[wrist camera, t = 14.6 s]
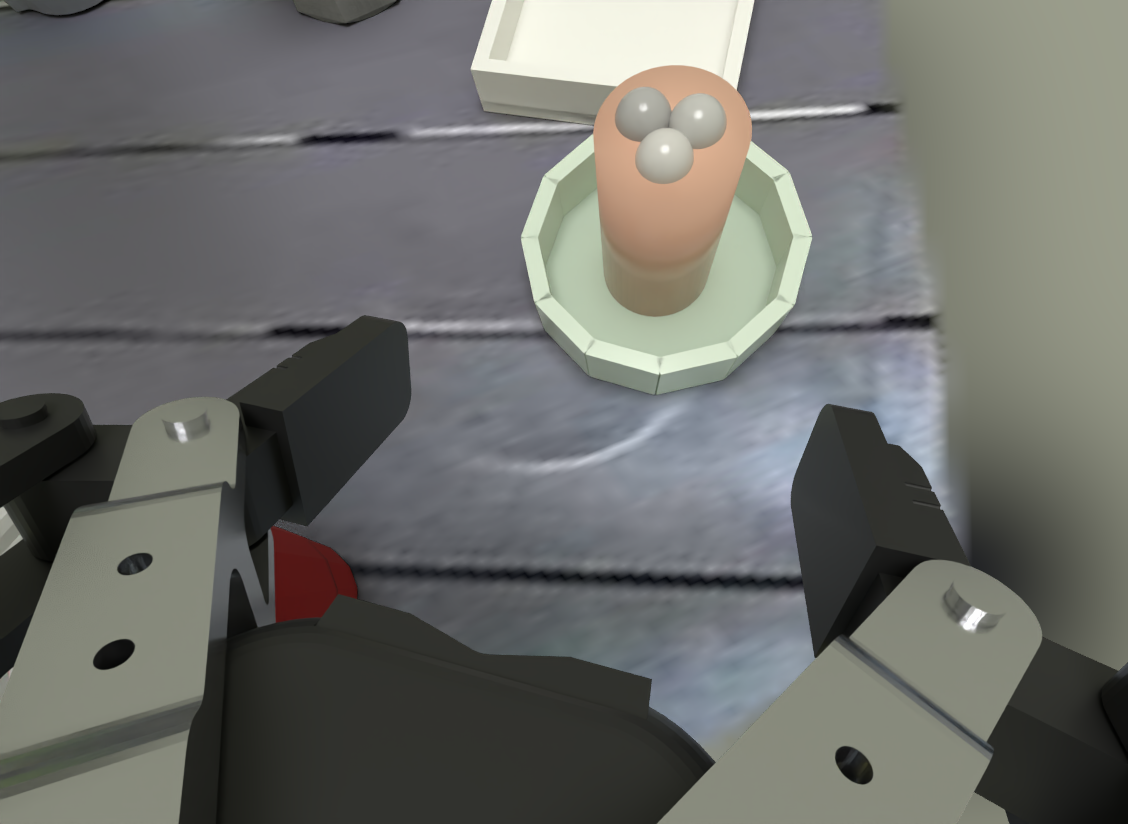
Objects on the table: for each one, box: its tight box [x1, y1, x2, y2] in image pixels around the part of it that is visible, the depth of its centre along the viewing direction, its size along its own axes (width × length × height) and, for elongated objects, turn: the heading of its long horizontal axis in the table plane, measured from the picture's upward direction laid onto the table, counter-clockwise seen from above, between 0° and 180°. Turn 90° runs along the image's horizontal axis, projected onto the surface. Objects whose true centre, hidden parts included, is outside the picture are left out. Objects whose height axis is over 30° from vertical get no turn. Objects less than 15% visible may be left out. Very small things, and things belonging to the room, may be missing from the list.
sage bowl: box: [521, 134, 812, 395], centre depth 28 cm, size 13×13×4 cm
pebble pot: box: [593, 65, 752, 317], centre depth 24 cm, size 5×5×11 cm
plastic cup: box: [0, 507, 357, 701], centre depth 22 cm, size 11×11×12 cm
